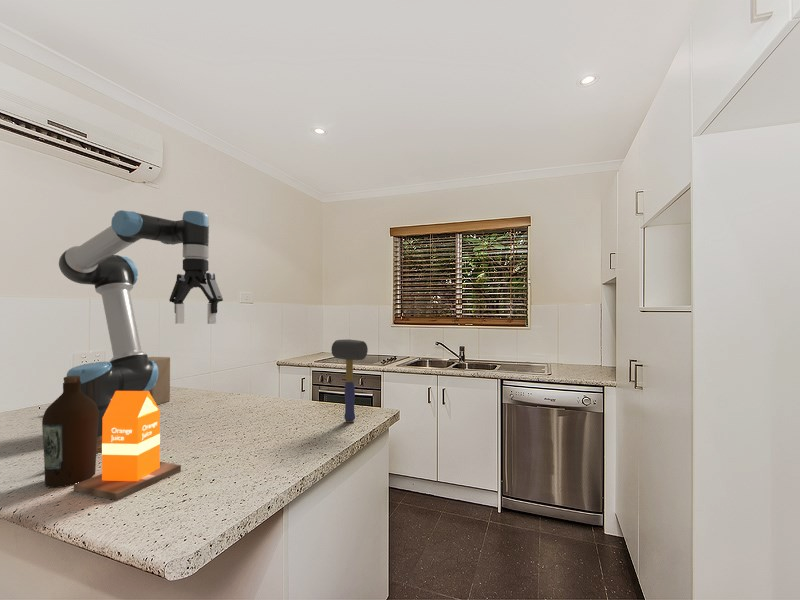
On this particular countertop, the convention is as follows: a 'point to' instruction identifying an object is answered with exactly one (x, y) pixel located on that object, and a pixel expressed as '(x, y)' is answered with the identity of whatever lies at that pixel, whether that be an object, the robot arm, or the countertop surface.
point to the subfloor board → (124, 483)
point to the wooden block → (161, 380)
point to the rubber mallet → (349, 369)
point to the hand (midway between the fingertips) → (195, 323)
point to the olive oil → (70, 436)
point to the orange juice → (130, 437)
